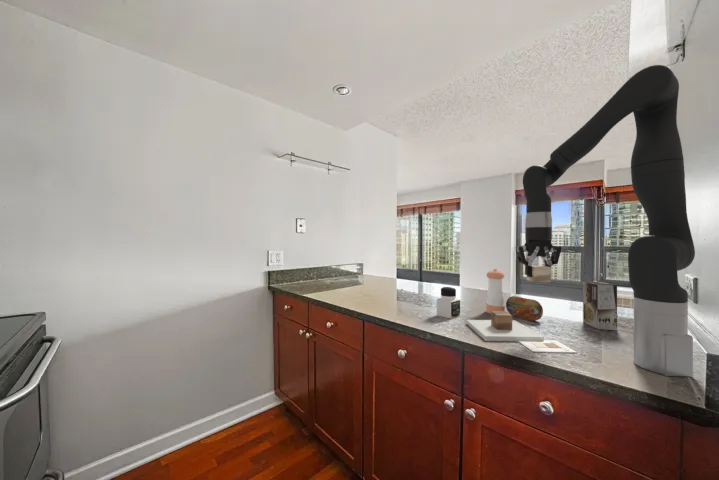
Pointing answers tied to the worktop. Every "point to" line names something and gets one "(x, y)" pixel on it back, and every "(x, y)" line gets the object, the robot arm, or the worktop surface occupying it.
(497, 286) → the pepper shaker
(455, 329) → the worktop surface
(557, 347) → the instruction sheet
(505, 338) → the base plate
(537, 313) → the tin
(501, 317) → the walnut block
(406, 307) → the worktop surface
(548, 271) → the birch block
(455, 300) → the medicine bottle
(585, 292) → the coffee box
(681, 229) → the robot arm
